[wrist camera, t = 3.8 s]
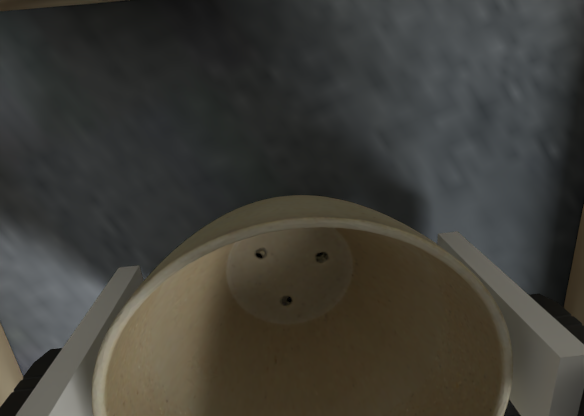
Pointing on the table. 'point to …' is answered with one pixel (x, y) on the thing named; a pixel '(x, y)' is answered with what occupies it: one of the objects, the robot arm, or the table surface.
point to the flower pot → (306, 323)
